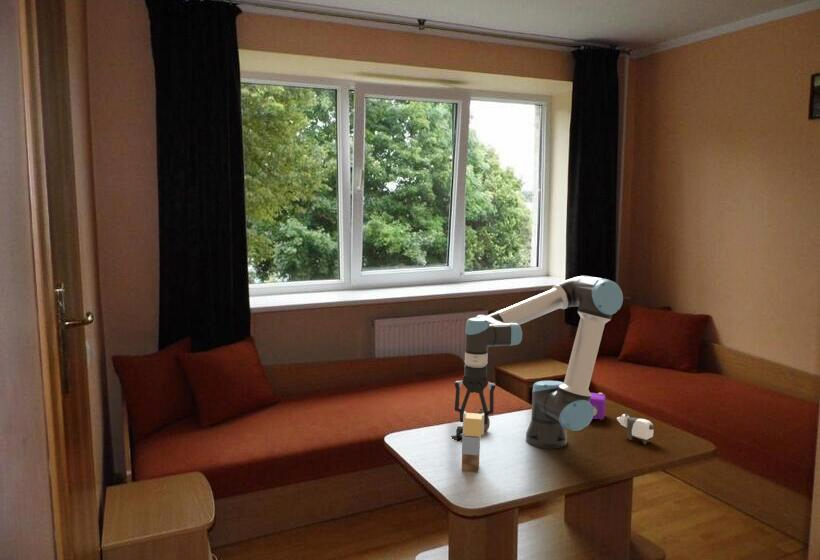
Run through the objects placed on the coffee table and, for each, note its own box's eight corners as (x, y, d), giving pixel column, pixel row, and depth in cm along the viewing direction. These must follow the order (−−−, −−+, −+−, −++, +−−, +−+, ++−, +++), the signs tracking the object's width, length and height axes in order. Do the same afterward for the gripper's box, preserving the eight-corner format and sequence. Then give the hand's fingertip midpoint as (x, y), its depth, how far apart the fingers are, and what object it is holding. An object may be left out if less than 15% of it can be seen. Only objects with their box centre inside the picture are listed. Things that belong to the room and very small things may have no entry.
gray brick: (479, 449, 209) (480, 432, 209) (478, 455, 204) (478, 438, 203) (463, 447, 210) (464, 430, 210) (461, 453, 205) (462, 436, 204)
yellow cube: (482, 431, 209) (482, 413, 208) (481, 436, 203) (481, 419, 203) (465, 429, 210) (466, 412, 209) (464, 435, 204) (464, 418, 204)
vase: (492, 430, 243) (493, 409, 242) (484, 435, 238) (485, 414, 236) (476, 427, 247) (477, 405, 246) (468, 432, 241) (469, 410, 240)
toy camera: (581, 422, 255) (582, 399, 253) (578, 411, 268) (579, 389, 267) (608, 424, 253) (610, 401, 252) (603, 413, 266) (605, 391, 265)
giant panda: (655, 443, 234) (657, 418, 233) (648, 446, 230) (650, 422, 229) (619, 432, 244) (621, 409, 243) (612, 435, 241) (613, 411, 239)
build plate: (473, 433, 241) (473, 422, 241) (481, 440, 234) (482, 428, 234) (444, 437, 237) (444, 425, 236) (452, 444, 230) (452, 432, 229)
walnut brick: (479, 465, 210) (479, 448, 210) (478, 472, 205) (478, 455, 204) (463, 464, 211) (463, 447, 210) (461, 470, 206) (462, 453, 205)
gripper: (446, 365, 202) (444, 434, 204) (503, 369, 199) (500, 438, 201) (449, 360, 209) (447, 426, 212) (504, 363, 206) (501, 430, 209)
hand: (473, 432), depth 207 cm, fingers closed on yellow cube, 5 cm apart
